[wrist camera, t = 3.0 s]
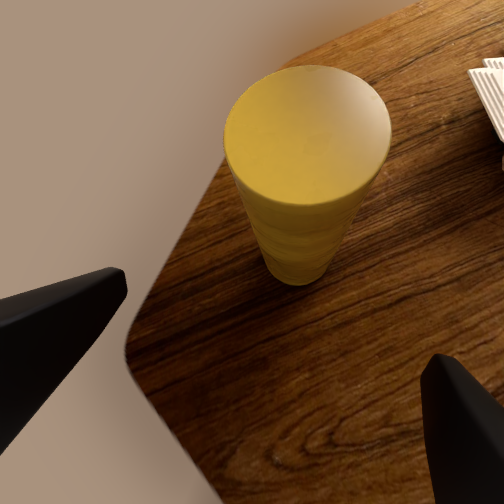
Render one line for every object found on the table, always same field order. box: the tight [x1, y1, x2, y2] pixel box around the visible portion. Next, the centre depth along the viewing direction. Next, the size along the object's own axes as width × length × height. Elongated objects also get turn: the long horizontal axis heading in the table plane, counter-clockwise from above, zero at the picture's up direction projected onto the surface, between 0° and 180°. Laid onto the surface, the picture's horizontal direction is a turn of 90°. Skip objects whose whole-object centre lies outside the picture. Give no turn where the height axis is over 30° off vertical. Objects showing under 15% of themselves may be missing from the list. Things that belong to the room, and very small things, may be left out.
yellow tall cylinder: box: [223, 65, 392, 285], centre depth 14 cm, size 5×5×13 cm
